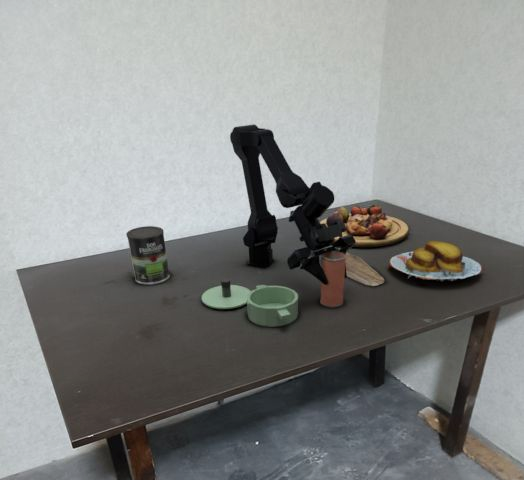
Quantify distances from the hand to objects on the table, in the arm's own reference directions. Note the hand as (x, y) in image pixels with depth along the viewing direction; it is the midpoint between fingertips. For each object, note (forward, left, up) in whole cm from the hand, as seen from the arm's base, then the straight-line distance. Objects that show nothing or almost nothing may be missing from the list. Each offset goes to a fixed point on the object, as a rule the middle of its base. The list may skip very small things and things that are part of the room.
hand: (336, 281), depth 122 cm
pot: (-13, -11, -7) cm, 18 cm away
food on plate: (+19, +31, -7) cm, 37 cm away
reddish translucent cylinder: (-1, +1, -7) cm, 7 cm away
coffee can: (-56, -4, -7) cm, 56 cm away
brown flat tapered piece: (-3, +24, -7) cm, 25 cm away
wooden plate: (-10, +56, -7) cm, 57 cm away
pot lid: (-28, -8, -6) cm, 29 cm away
